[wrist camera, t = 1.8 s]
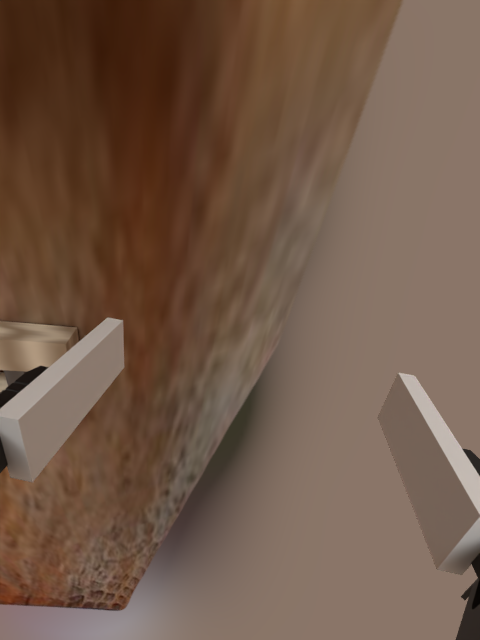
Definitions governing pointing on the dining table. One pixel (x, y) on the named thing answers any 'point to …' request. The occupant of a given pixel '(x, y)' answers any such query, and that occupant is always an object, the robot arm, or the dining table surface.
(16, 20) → the dining table surface
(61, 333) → the slotted stand
